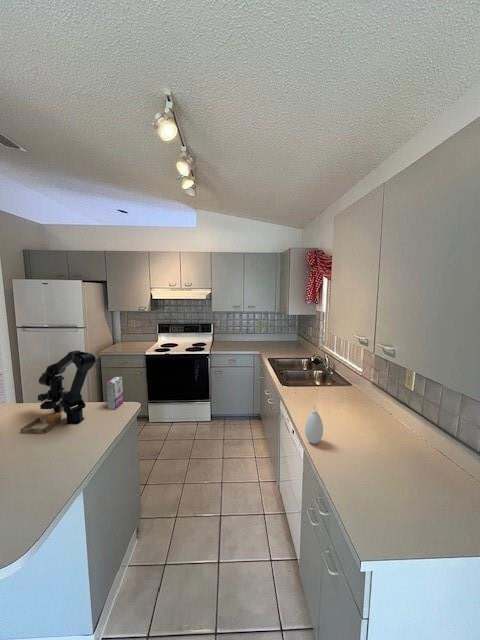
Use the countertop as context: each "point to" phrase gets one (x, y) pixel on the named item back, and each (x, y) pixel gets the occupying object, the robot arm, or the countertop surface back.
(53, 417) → the pastry
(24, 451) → the countertop surface
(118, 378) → the candy bar box
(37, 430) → the wooden bracket
